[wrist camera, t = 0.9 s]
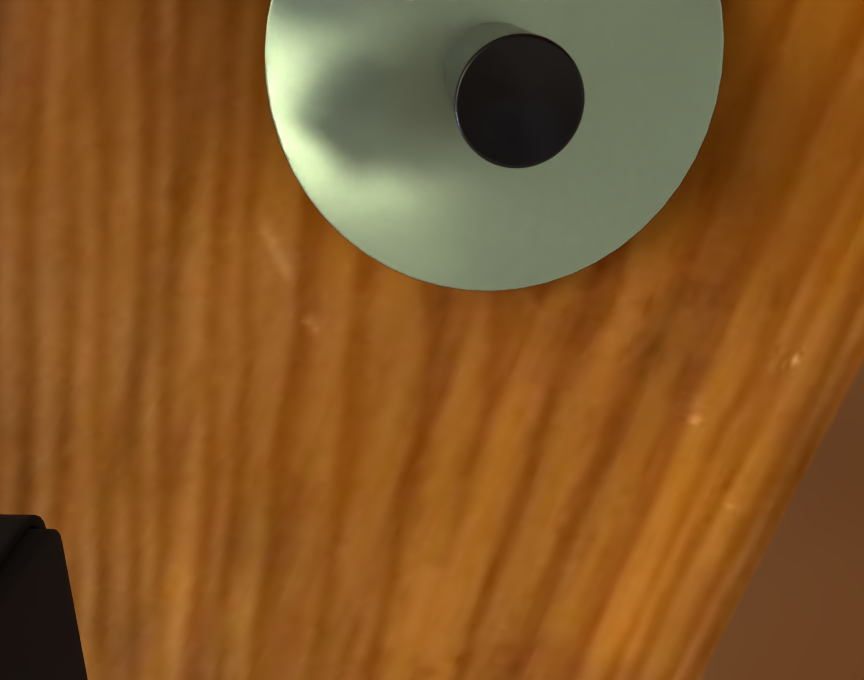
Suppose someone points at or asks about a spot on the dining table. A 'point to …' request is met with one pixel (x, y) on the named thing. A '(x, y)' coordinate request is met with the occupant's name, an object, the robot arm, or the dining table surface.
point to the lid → (491, 125)
